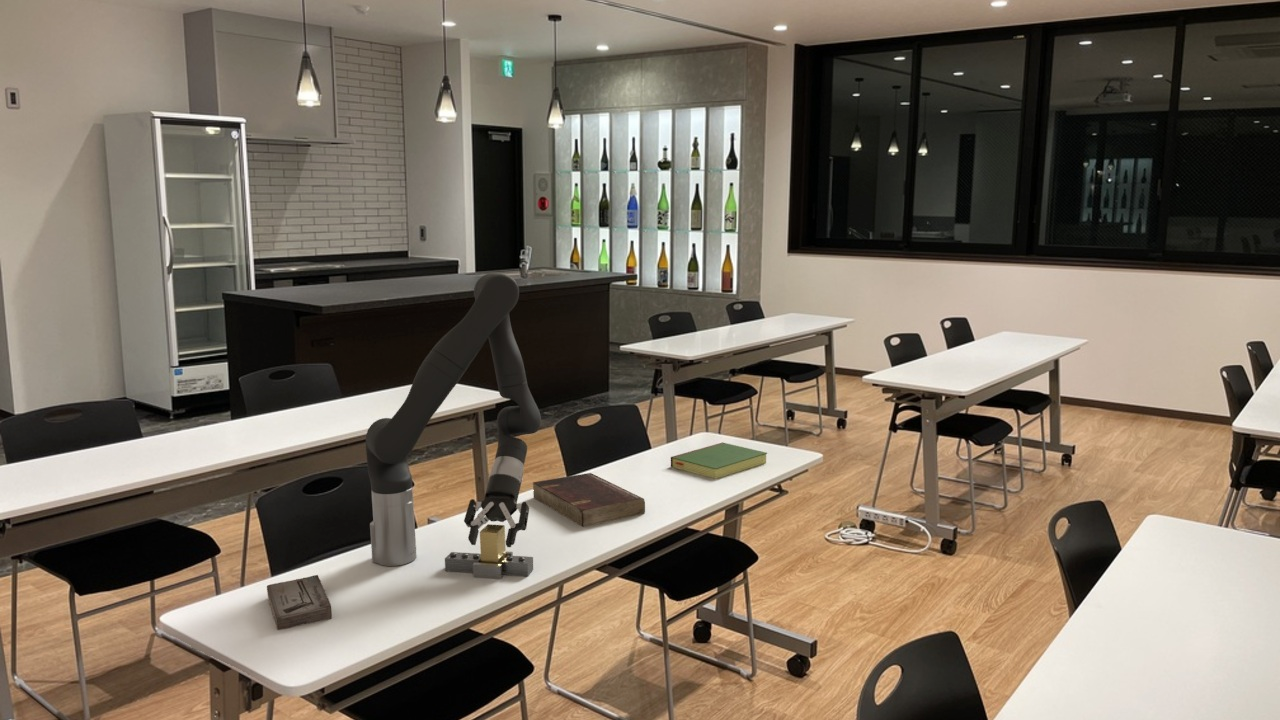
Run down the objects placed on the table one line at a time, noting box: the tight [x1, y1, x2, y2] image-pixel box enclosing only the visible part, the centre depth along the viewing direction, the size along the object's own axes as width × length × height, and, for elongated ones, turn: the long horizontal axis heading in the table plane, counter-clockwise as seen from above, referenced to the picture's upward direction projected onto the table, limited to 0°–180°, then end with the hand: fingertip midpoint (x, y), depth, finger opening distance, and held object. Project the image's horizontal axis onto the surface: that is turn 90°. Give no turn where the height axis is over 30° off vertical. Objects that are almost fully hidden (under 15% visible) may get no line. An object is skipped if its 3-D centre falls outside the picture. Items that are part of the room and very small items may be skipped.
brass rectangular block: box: [479, 524, 507, 564], centre depth 211 cm, size 4×5×10 cm
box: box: [266, 574, 333, 631], centre depth 193 cm, size 11×17×3 cm, turn 28°
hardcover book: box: [670, 442, 768, 480], centre depth 293 cm, size 25×19×4 cm
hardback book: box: [532, 472, 646, 528], centre depth 256 cm, size 29×19×5 cm, turn 32°
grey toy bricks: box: [444, 551, 534, 580], centre depth 212 cm, size 20×8×4 cm, turn 79°
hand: (490, 544), depth 209 cm, fingers open, 8 cm apart
